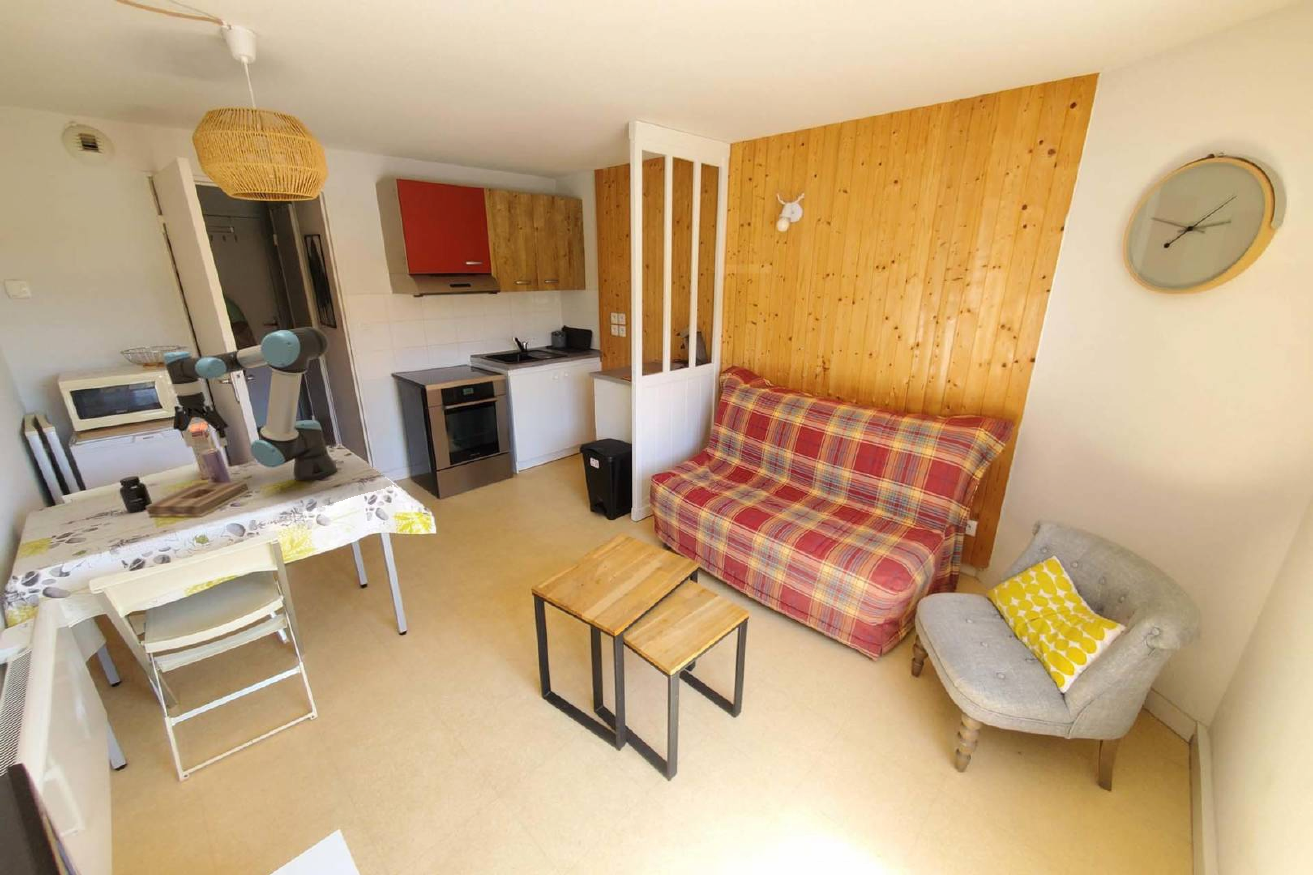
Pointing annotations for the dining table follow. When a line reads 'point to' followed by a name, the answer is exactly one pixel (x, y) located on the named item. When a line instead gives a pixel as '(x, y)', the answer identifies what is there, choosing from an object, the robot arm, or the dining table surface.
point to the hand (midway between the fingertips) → (207, 446)
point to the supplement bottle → (134, 494)
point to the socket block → (197, 500)
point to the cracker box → (201, 443)
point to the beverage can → (215, 466)
